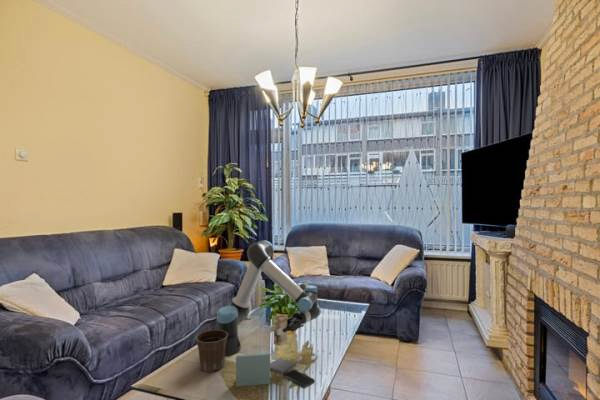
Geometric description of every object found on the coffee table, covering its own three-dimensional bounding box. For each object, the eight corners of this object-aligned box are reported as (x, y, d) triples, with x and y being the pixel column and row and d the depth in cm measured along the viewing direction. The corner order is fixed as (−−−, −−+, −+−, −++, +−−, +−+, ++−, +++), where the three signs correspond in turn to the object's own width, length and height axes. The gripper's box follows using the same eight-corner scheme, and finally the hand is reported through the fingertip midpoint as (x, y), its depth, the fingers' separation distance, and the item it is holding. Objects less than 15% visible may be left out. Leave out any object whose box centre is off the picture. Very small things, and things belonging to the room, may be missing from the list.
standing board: (236, 380, 165) (236, 353, 165) (269, 378, 167) (269, 351, 167) (235, 386, 160) (235, 358, 160) (270, 383, 162) (270, 356, 162)
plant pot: (190, 373, 171) (190, 341, 171) (203, 358, 187) (203, 328, 187) (221, 375, 169) (221, 343, 169) (232, 360, 185) (232, 330, 185)
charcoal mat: (266, 367, 177) (266, 365, 177) (279, 359, 186) (279, 357, 186) (282, 374, 171) (282, 372, 171) (296, 365, 179) (296, 363, 179)
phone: (304, 386, 158) (282, 374, 169) (304, 389, 158) (282, 376, 169) (315, 379, 164) (293, 368, 174) (315, 382, 164) (293, 371, 174)
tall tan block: (273, 343, 177) (273, 316, 177) (279, 340, 181) (279, 314, 181) (280, 346, 174) (280, 318, 174) (287, 342, 178) (287, 316, 178)
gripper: (314, 328, 187) (287, 343, 168) (288, 321, 198) (260, 334, 179) (314, 314, 187) (287, 327, 168) (288, 308, 198) (260, 319, 179)
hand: (273, 331), depth 174 cm, fingers closed on tall tan block, 5 cm apart
